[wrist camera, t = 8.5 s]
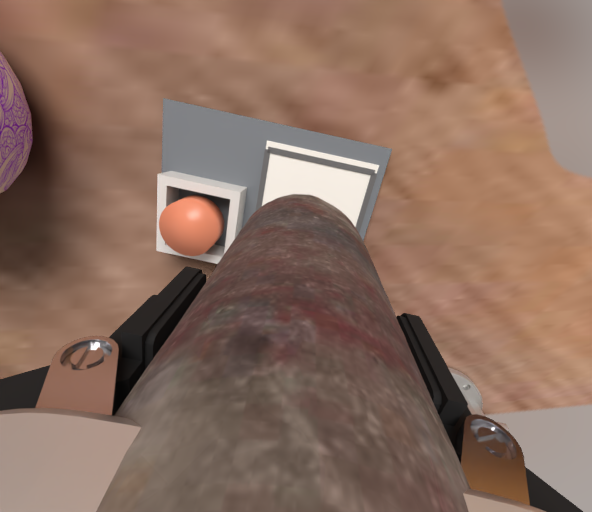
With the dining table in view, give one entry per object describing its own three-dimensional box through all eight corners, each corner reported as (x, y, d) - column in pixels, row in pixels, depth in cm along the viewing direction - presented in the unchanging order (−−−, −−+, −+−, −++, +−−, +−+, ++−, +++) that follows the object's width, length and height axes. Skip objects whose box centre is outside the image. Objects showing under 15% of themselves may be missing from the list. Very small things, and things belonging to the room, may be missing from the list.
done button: (226, 201, 26) (217, 208, 23) (221, 250, 28) (212, 261, 25) (173, 189, 26) (159, 195, 23) (171, 240, 28) (158, 249, 25)
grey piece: (389, 148, 26) (399, 150, 23) (347, 284, 31) (350, 301, 28) (168, 99, 26) (147, 94, 22) (164, 244, 31) (147, 257, 28)
